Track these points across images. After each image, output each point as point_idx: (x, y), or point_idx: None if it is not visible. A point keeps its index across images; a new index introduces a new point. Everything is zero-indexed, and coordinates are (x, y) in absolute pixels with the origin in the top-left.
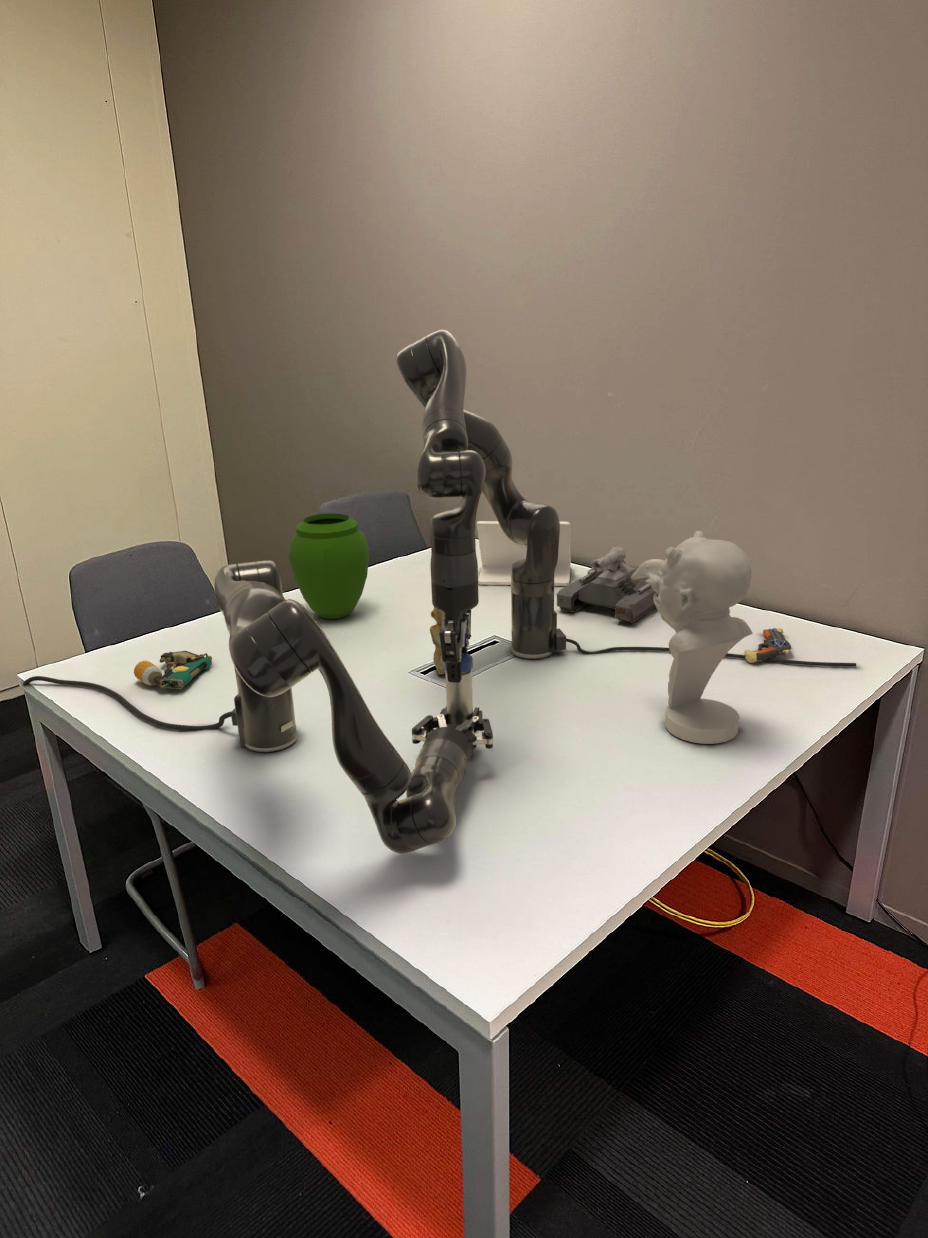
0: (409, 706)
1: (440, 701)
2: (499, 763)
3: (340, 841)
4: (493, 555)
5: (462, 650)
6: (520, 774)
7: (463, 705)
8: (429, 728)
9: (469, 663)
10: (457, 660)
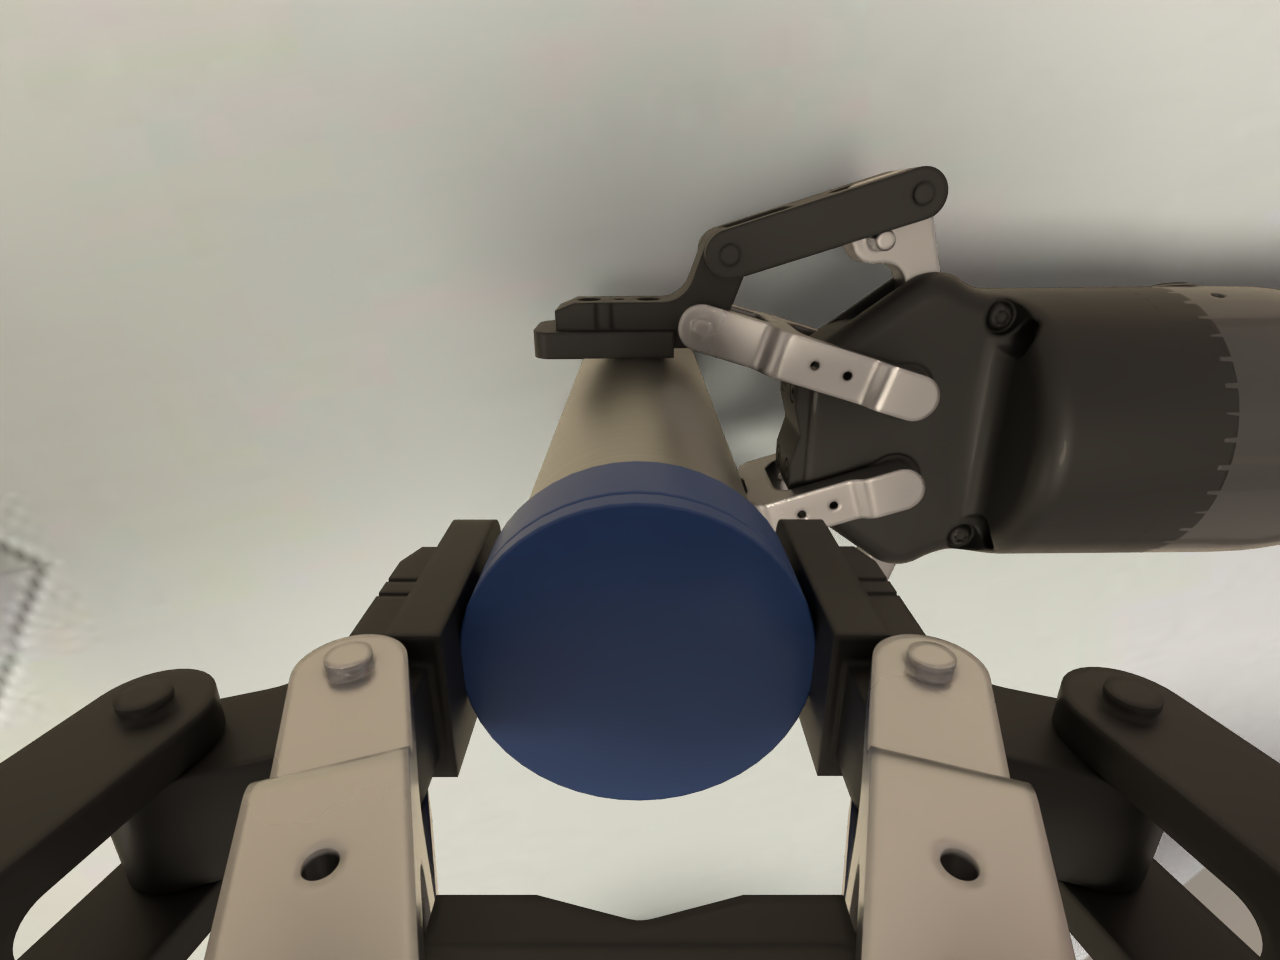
0: (282, 668)
1: (187, 561)
2: (708, 172)
3: (1256, 645)
4: None
5: (450, 669)
6: (805, 36)
7: (720, 426)
8: None
9: (723, 513)
10: (1170, 700)
